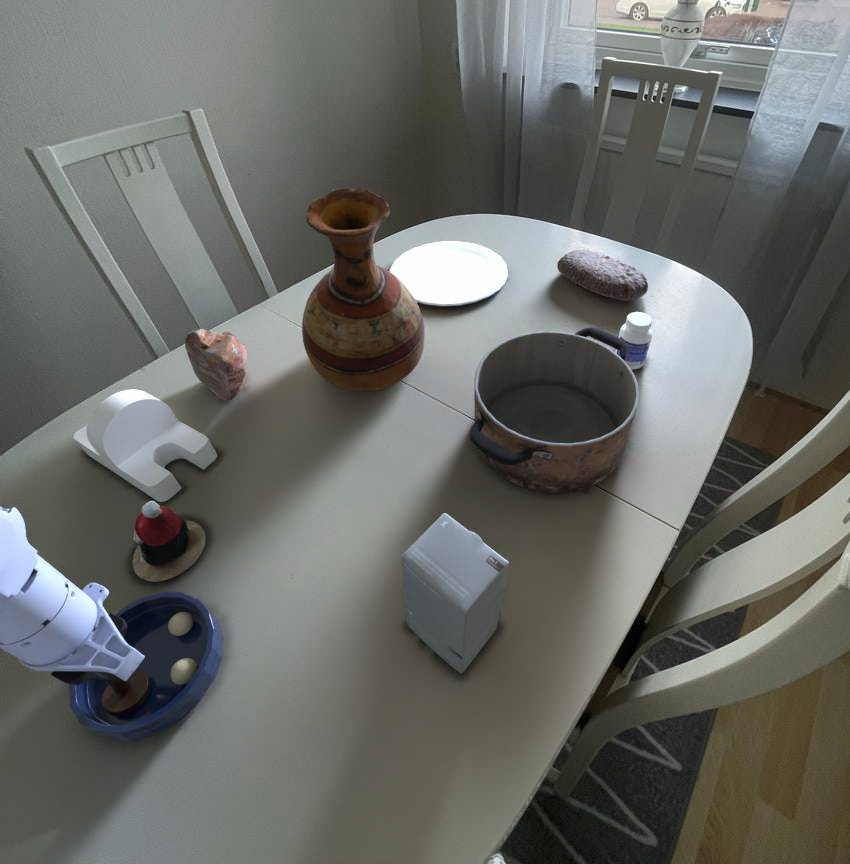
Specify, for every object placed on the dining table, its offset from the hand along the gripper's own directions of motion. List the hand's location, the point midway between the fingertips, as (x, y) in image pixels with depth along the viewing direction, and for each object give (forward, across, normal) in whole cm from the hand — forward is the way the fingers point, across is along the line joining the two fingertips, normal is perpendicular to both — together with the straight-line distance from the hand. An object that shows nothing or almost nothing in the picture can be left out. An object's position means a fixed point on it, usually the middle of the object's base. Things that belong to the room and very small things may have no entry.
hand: (113, 665), depth 50 cm
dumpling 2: (+4, -4, -2) cm, 6 cm away
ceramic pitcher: (+6, +3, -53) cm, 53 cm away
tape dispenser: (+6, +23, -24) cm, 33 cm away
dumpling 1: (+4, 0, -6) cm, 7 cm away
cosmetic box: (+6, -28, -17) cm, 34 cm away
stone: (+6, +22, -41) cm, 47 cm away
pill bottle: (+6, -39, -69) cm, 80 cm away
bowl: (+6, 0, -2) cm, 6 cm away
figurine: (+6, +9, -13) cm, 17 cm away
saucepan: (+6, -31, -48) cm, 57 cm away
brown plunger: (+5, 0, +1) cm, 5 cm away
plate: (+6, 0, -83) cm, 83 cm away
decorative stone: (+6, -30, -91) cm, 96 cm away
